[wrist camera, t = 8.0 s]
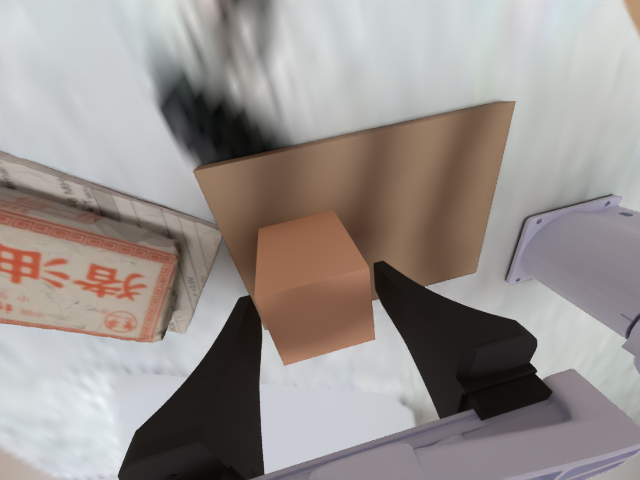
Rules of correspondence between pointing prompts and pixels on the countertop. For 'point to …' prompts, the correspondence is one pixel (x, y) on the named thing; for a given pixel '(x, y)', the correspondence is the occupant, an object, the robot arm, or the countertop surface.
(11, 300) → the packaged product
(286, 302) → the orange rectangular block
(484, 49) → the countertop surface
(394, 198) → the board
